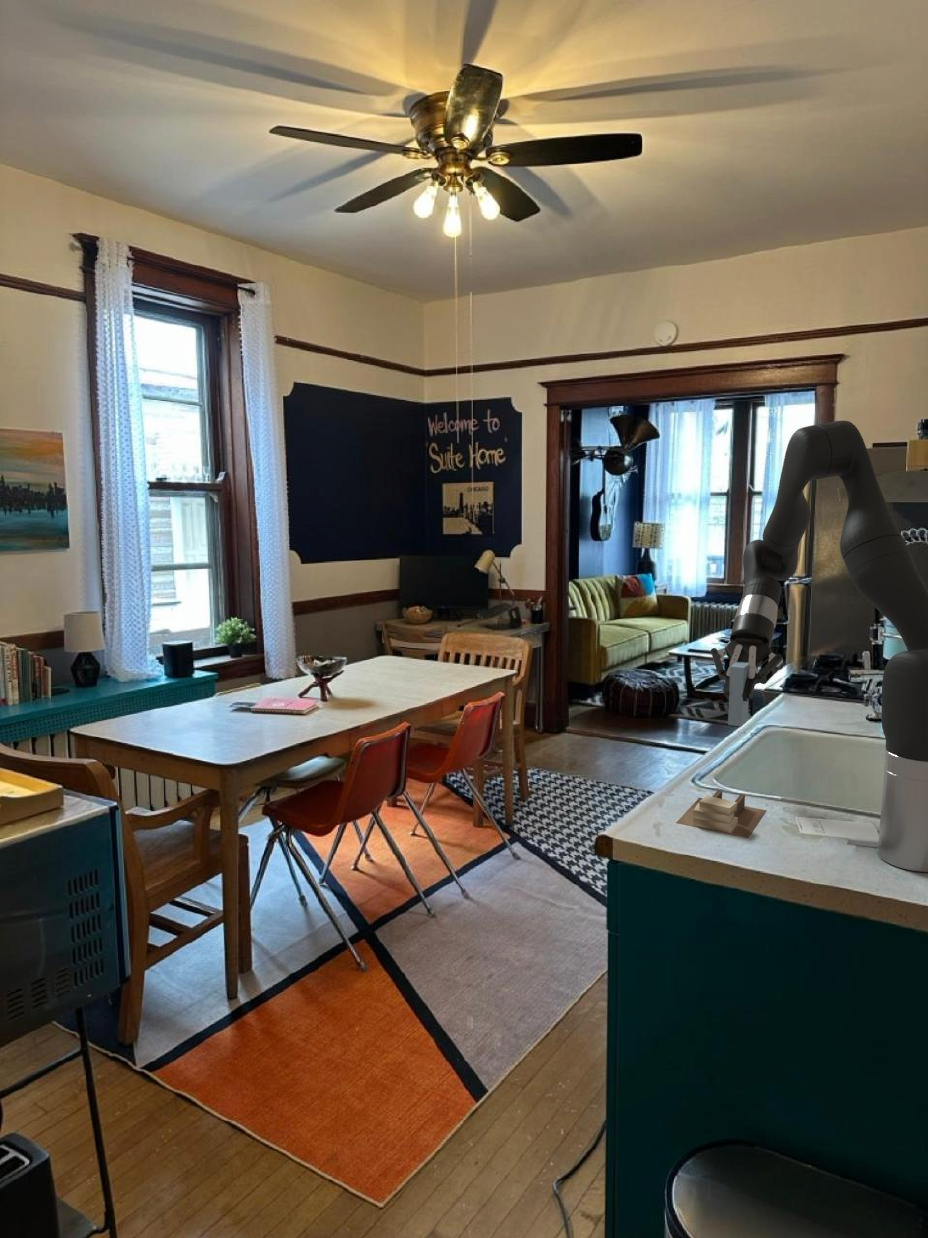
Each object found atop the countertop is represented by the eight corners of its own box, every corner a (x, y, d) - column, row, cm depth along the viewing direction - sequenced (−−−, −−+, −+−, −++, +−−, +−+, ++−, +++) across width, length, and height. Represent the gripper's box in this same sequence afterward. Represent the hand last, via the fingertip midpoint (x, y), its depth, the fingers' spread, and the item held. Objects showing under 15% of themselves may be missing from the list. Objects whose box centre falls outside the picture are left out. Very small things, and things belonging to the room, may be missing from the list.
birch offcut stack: (737, 825, 137) (738, 801, 136) (731, 833, 133) (732, 809, 133) (698, 817, 140) (699, 794, 140) (691, 825, 137) (692, 801, 136)
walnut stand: (766, 815, 143) (767, 797, 143) (748, 843, 132) (749, 823, 131) (698, 802, 150) (699, 784, 149) (675, 828, 138) (676, 808, 137)
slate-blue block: (747, 720, 152) (750, 662, 150) (741, 726, 147) (743, 667, 146) (734, 718, 153) (736, 661, 151) (727, 724, 149) (730, 666, 147)
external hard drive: (882, 851, 130) (800, 842, 133) (871, 831, 138) (794, 823, 141) (883, 841, 130) (800, 833, 133) (872, 822, 138) (794, 814, 141)
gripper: (715, 609, 157) (694, 682, 149) (790, 614, 150) (773, 691, 141) (721, 632, 162) (701, 704, 154) (794, 638, 155) (778, 714, 147)
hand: (736, 697), depth 148 cm, fingers closed on slate-blue block, 2 cm apart
